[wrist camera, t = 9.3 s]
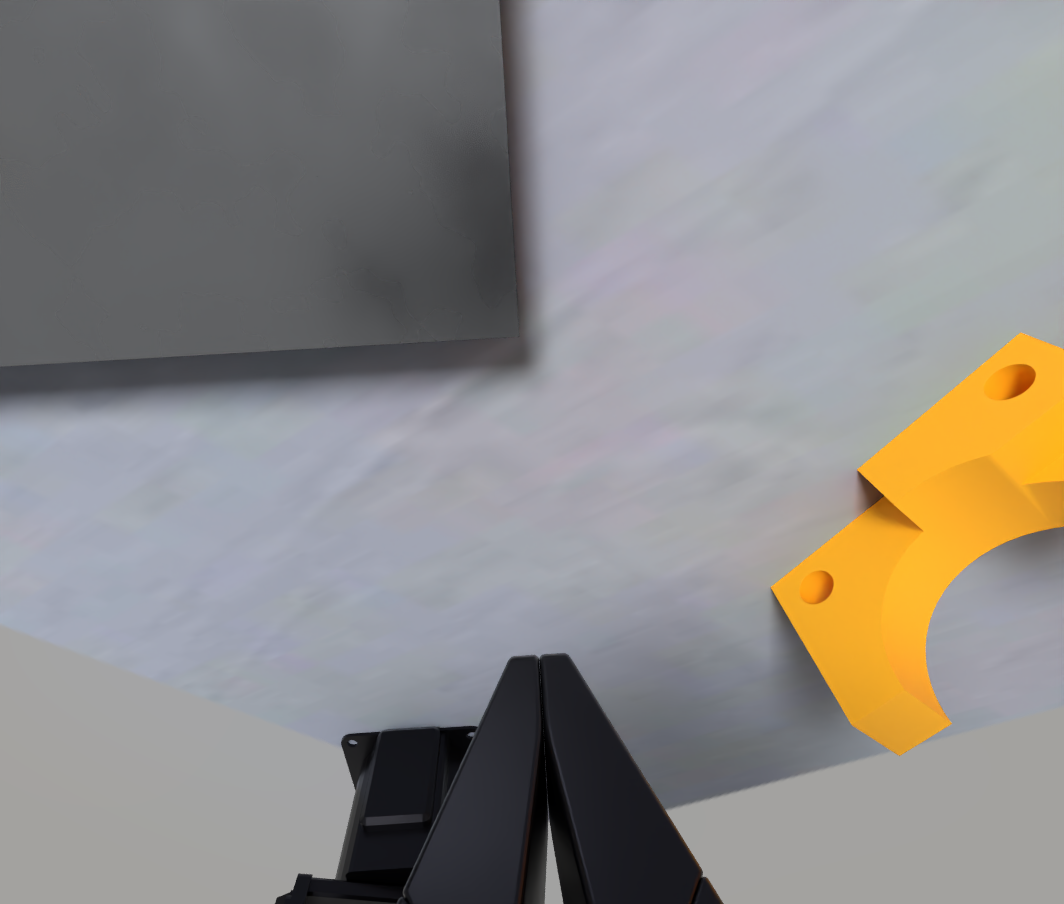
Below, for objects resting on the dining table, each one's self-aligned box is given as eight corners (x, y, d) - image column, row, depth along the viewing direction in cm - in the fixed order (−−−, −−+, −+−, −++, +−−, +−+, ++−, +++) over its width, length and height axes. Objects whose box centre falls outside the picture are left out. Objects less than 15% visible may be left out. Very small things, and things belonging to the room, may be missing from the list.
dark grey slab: (518, 317, 18) (519, 338, 16) (-271, 362, 18) (-365, 390, 16) (484, -241, 13) (480, -310, 11) (-667, -187, 12) (-886, -247, 10)
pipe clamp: (1017, 331, 19) (1232, 414, 14) (1080, 406, 21) (1299, 510, 15) (740, 564, 23) (816, 702, 18) (808, 613, 25) (899, 756, 19)
